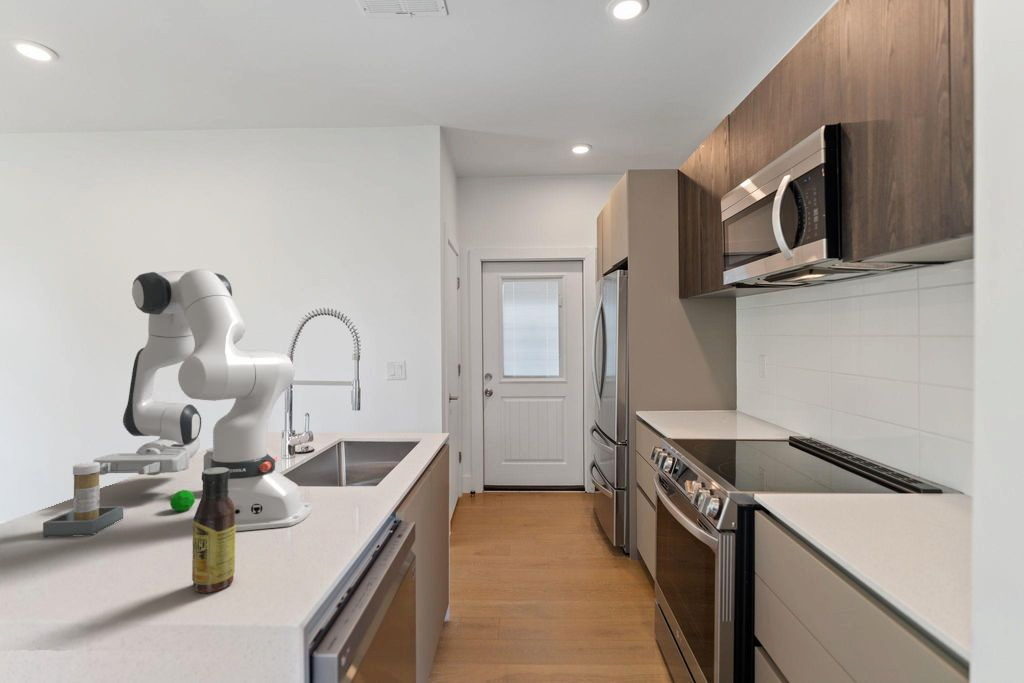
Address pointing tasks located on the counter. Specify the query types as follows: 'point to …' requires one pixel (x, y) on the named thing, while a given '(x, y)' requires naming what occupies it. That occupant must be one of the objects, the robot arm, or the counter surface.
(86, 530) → the bin
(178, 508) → the polyhedron
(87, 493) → the sprinkles bottle
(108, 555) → the counter surface
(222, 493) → the sauce bottle
